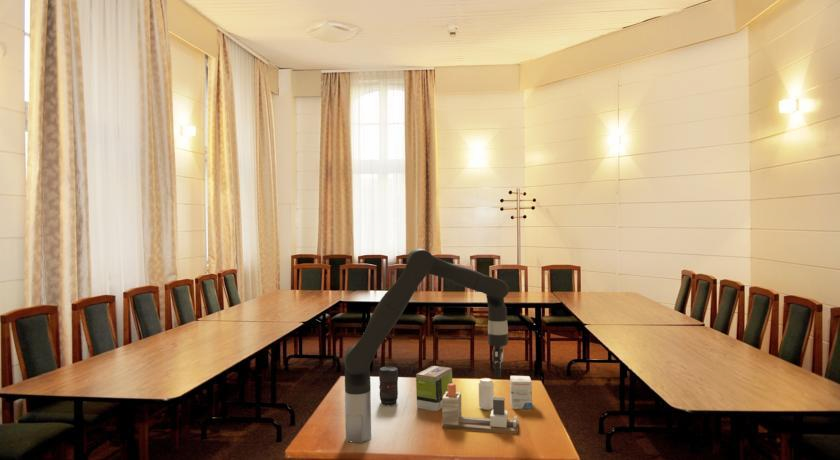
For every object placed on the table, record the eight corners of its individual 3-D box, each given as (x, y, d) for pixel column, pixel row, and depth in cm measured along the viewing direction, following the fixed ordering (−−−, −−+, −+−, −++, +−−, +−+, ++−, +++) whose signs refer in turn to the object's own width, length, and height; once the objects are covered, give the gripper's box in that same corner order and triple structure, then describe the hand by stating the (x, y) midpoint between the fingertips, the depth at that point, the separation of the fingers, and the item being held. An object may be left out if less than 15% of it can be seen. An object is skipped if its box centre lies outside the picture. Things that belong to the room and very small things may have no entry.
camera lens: (397, 406, 222) (397, 371, 222) (378, 406, 222) (378, 371, 222) (398, 399, 230) (398, 366, 230) (380, 400, 230) (380, 366, 230)
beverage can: (493, 411, 215) (493, 382, 214) (478, 410, 216) (477, 381, 216) (494, 406, 221) (493, 377, 221) (479, 405, 222) (479, 377, 222)
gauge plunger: (455, 412, 199) (455, 386, 199) (447, 411, 200) (446, 385, 200) (456, 409, 202) (456, 383, 202) (448, 408, 203) (448, 383, 203)
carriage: (506, 427, 193) (506, 402, 193) (490, 426, 194) (489, 401, 194) (507, 420, 200) (507, 396, 200) (492, 419, 201) (491, 395, 201)
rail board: (517, 434, 191) (516, 403, 191) (442, 428, 197) (441, 398, 197) (518, 424, 200) (518, 394, 200) (447, 418, 207) (446, 390, 207)
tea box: (433, 397, 232) (433, 364, 232) (453, 401, 227) (453, 367, 227) (415, 408, 219) (415, 373, 219) (436, 412, 214) (436, 376, 214)
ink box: (530, 402, 225) (530, 375, 224) (532, 409, 216) (532, 381, 216) (510, 402, 225) (509, 375, 225) (511, 408, 217) (511, 380, 217)
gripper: (506, 336, 189) (507, 380, 189) (509, 328, 203) (509, 370, 203) (485, 335, 191) (486, 379, 191) (489, 327, 205) (490, 369, 205)
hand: (498, 374), depth 197 cm, fingers open, 8 cm apart
